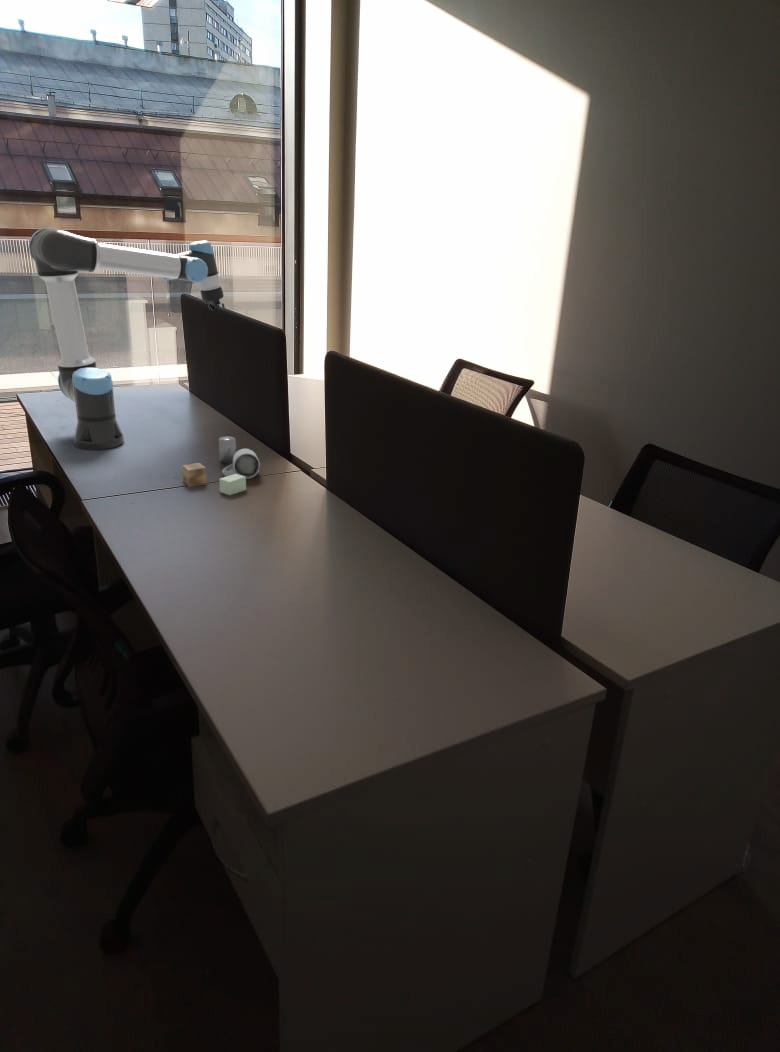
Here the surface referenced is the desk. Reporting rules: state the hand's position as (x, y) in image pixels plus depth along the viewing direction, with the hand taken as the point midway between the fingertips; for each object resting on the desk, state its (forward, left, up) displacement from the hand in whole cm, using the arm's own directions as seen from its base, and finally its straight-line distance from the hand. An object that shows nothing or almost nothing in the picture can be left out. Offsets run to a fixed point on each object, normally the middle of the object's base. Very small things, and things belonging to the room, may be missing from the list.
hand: (225, 347), depth 278 cm
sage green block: (-30, -77, -25) cm, 87 cm away
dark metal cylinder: (-21, -51, -25) cm, 61 cm away
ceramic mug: (-22, -66, -25) cm, 74 cm away
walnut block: (-37, -66, -25) cm, 80 cm away
